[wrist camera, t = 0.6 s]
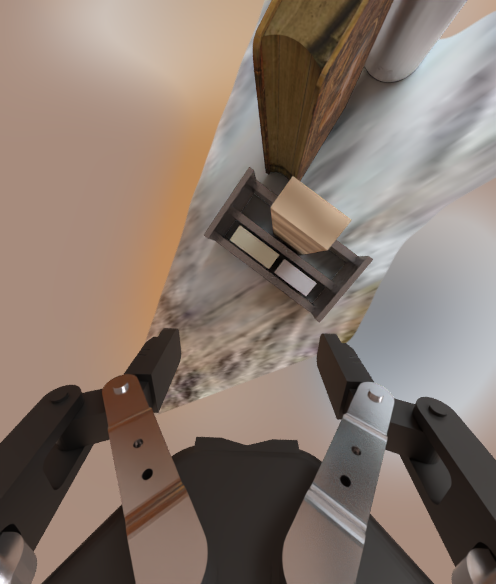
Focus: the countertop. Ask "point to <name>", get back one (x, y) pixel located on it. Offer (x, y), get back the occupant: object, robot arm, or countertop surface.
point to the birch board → (306, 219)
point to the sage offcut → (254, 247)
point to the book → (309, 73)
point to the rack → (284, 249)
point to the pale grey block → (295, 277)
